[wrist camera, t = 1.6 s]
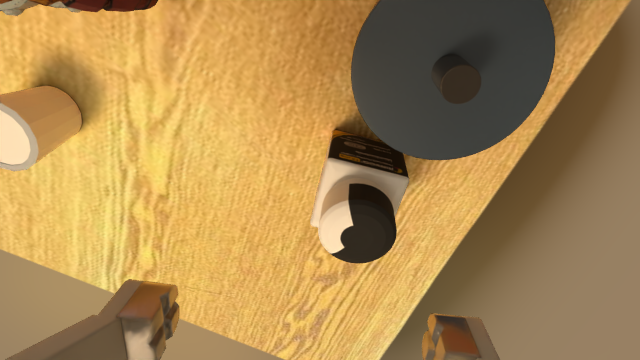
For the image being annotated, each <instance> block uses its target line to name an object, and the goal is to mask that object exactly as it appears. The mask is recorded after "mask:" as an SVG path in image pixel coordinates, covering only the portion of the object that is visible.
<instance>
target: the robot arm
mask: <svg viewBox="0 0 640 360" xmlns="http://www.w3.org/2000/svg"><path fill="white" fill-rule="evenodd" d="M177 296H178V289H177V286H176V285H171V284H164V283H157V282H149V281H139V280H132V279H129V280H127V281H125V282H124V284H123V285H122V286H121V287H120V288H119V290H118V291H117V292H116V293H115V295H114V296H113V297H112V298H111V300H110V301H109V302H108V304H107V305H106V306H105V307H104V308H103V309H102V311H101V312H100V313H99V314H98V315H92V316H90V317H88V318H86V319H84V320H82V321H80V322H78V323H76V324H74V325H72V326H70V327H68V328H66V329H65V330H62V331H61V332H58V333H57V334H54V335H53V336H50V337H48V338H47V339H45V340H43V341H41V342H39V343H37V344H35V345H33V346H31V347H29V348H27V349H25V350H23V351H21V352H19V353H17V354H15V355H13V356H11V357H9V358H7V359H5V360H160V359H161V357H162V355H163V353H164V351H165V349H166V342H165V341H166V340H167V339H169V338H170V337H172V336H173V333H174V332H175V330H176V327H177V323H178V320H179V305H178V304H177V303H176V302H175V300H176V298H177ZM427 323H428V327H429V330H428V331H427V332H425V333H424V337H423V341H422V355H423V360H500V359H499V356H498V354H497V352H496V350H495V348H494V346H493V344H492V342H491V339H490V337H489V335H488V333H487V331H486V329H485V327H484V325H483V323H482V320H481V319H479V318H477V317H466V316H463V317H462V316H454V315H444V314H434V313H432V314H430V316H429V319H428V322H427Z"/></svg>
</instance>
